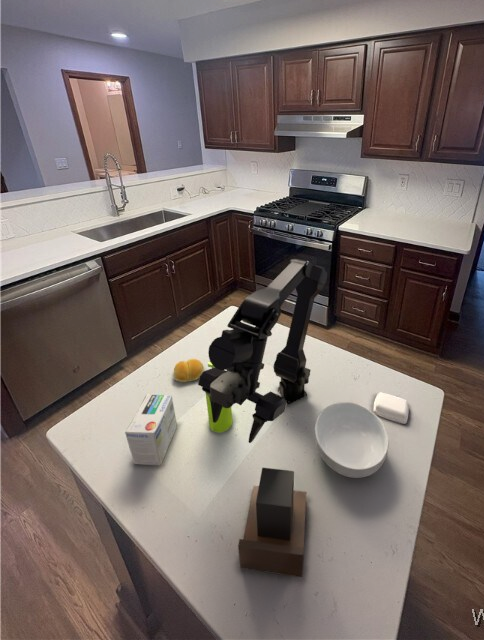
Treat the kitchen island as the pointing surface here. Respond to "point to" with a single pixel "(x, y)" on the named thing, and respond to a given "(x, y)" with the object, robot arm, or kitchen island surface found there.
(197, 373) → the bread roll
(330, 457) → the cereal bowl
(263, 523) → the dark grey upright block
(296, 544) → the brown shallow tray
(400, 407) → the soap
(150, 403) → the light bulb box
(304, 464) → the kitchen island surface
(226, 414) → the soap dispenser
